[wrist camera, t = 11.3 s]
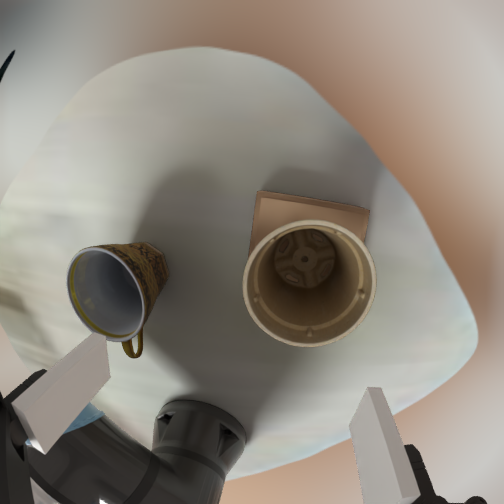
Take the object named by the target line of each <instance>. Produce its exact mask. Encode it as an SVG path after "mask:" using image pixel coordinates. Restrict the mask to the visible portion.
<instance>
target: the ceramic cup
mask: <svg viewBox="0 0 504 504" xmlns="http://www.w3.org/2000/svg"><path fill="white" fill-rule="evenodd" d="M168 277H169V271H168V268H167V264H166V261H165V257H164V254H163V253H162V252H160V251H159V250H157V249H156V248H154V247H153V246H152V245H150V244H149V243H147V242H141V243H132V244H109V245H99V246H93V247H88V248H84V249H82V250H81V251H79V252H78V253H77V254H76V255H75V256H74V257H73V258H72V260H71V262H70V264H69V266H68V270H67V276H66V286H67V293H68V297H69V300H70V303H71V305H72V308H73V310H74V311H75V313H76V315H77V316H78V318H79V319H80V321H81V322H82V323H83V324H84V325H85V326H86V327H87V328H88V329H89V330H90V331H91V332H93V333H94V332H95V333H98V334H101V335H103V336H106V340H108V341H113V342H122V346H123V349H124V351H125V353H126V354H127V355H128V356H129V357H130V358H138V357H140V356H141V354H142V351H143V326H144V324H145V322H146V321H147V319H148V317H149V315H150V313H151V311H152V309H153V306H154V304H155V301H156V299H157V297H158V295H159V294H160V292H161V291H162V289H163V287H164V285H165V283H166V281H167V279H168ZM137 334H138V350H137V353H136V354H135V353H134V350H133V346H132V338H133V337H135V336H136V335H137Z"/></svg>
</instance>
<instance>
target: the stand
mask: <svg viewBox="0 0 504 504" xmlns="http://www.w3.org/2000/svg"><path fill="white" fill-rule="evenodd" d="M369 213H370V210H367V209H365V208H362V207H358V206H353V205H348V204H342V203H337V202H331V201H326V200H320V199H314V198H308V197H302V196H296V195H289V194H283V193H276V192H269V191H262V190H260V191H257V195H256V203H255V211H254V218H253V226H252V233H251V241H250V248H249V256H248V259H249V257H250V255H251V253H252V252H253V250H254V249H255V248H256V246H257V245H258V244H259V243H260V242H261V241H262V240H263V239H264V238H265V237H266V236H267V235H268V234H270V233H271V232H273V231H274V230H276V229H277V228H279V227H281V226H283V225H286V224H288V223H291V222H295V221H299V220H308V219H316V220H325V221H329V222H333V223H335V224H338V225H340V226H342V227H344V228H346V229H348V230H349V231H351V232H352V233H354V234H355V235H356V236H357V237H358V238H359V239H360V240H361V241H362V242H363V243H364V239H365V234H366V229H367V224H368V218H369ZM313 237H315V238H316V240H320V241H321V242H322V241H323V240H322V238H321V237H319V236H317V235H315V234H313ZM288 243H289V242H288V241H287V240H286V241H285V242H284V243H283V244H282V245H281V246H280V251H281V252H284V250H285V248H286V247H287V245H288ZM303 261H307V258H306V257H304V258H303ZM330 267H331V266H330V265H328V266H327V268H326V270H325V271H324V273H323V274H322V276H325V275H327V274H328V272H329V271H330ZM286 278H287V279H289V280H291V281H293V282H298V280H297V279H295V278H293V277H292V276H291V275H286ZM243 299H244V297H243Z"/></svg>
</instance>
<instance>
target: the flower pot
mask: <svg viewBox="0 0 504 504" xmlns="http://www.w3.org/2000/svg"><path fill="white" fill-rule="evenodd" d="M313 234H315V235H317V236H319V237H321V238H322V240H323V241H322V242H321V241H320V240H316V238H315V237H313ZM286 240H287V241H288V242H289V243H288V245H287V247H286V248H285V250H284V252H281V251H280V246H281V245H282V244H283V243H284V242H285V241H286ZM304 257H306V258H307V261H303V258H304ZM328 265H330V266H331V267H330V271H329V272H328V274H327V275H325V276H322V274H323V273H324V271H325V270H326V268H327V266H328ZM286 275H291V276H292V277H293V278H295V279H297V280H298V282H293V281H291V280H289V279H287V278H286ZM376 283H377V278H376V270H375V265H374V261H373V259H372V256H371V254H370V252H369V251H368V249H367V247H366V246H365V245H364V243H363V242H362V241H361V240H360V239H359V238H358V237H357V236H356V235H355V234H354V233H352V232H351V231H349V230H348V229H346V228H344V227H342V226H340V225H338V224H335V223H333V222H329V221H325V220H316V219H308V220H299V221H295V222H291V223H288V224H286V225H283V226H281V227H279V228H277V229H276V230H274V231H273V232H271V233H270V234H268V235H267V236H266V237H265V238H264V239H263V240H262V241H261V242H260V243H259V244H258V245H257V246H256V248H255V249H254V250H253V252H252V253H251V255H250V257H249V259H248V261H247V264H246V266H245V270H244V274H243V297H244V301H245V305H246V307H247V310H248V312H249V314H250V315H251V317H252V318H253V320H254V321H255V323H256V324H257V325H258V326H259V327H260V328H261V329H262V330H263V331H264V332H265V333H267V334H268V335H270V336H271V337H273V338H275V339H276V340H279V341H281V342H283V343H286V344H289V345H293V346H300V347H316V346H323V345H327V344H330V343H333V342H335V341H337V340H340V339H342V338H343V337H345V336H347V335H348V334H349V333H351V332H352V331H353V330H354V329H355V328H356V327H357V326H358V325H359V324H360V323H361V322H362V321H363V319H364V318H365V316H366V315H367V313H368V311H369V309H370V307H371V305H372V303H373V300H374V296H375V292H376Z"/></svg>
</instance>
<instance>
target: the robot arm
mask: <svg viewBox="0 0 504 504" xmlns="http://www.w3.org/2000/svg"><path fill="white" fill-rule="evenodd" d="M110 377H111V376H110V369H109V361H108V353H107V344H106V336H103V335H101V334H98V333H95V332H94V333H92V334H91V335H90V336H89V337H88V338H86V339H85V340H84V341H83V342H81V343H80V344H79V345H78V346H77V347H75V348H74V349H73V350H72V351H71V352H70V353H68V354H67V355H66V356H65V357H64V358H62V359H61V360H60V361H59V362H58V363H57V364H55V365H54V366H53V367H52V368H51V369H50V370H48V371H47V370H45V369H42V370H40V371H37V372H34V373H33V374H32V375H31V376H30V377H29V378H28V379H26V380H25V381H24V382H23V383H22V384H20V385H19V386H18V387H17V388H16V389H14V390H13V391H12V392H11V393H10V394H9V395H8V396H6V397H5V398H4V399H3V397H2V394H1V392H0V504H219V501H220V497H221V494H222V490H223V485H224V482H225V478H226V475H227V474H228V472H229V471H230V470H231V468H232V467H233V466H234V464H235V463H236V462H237V460H238V459H239V458H240V456H241V455H242V453H243V451H244V447H245V442H246V434H245V431H244V429H243V427H242V426H241V424H240V423H239V422H238V421H237V420H236V419H235V418H234V417H232V416H231V415H230V414H228V413H226V412H225V411H223V410H221V409H219V408H217V407H215V406H212V405H209V404H206V403H202V402H198V401H190V400H180V401H174V402H171V403H168V404H166V405H165V406H164V407H163V408H162V409H161V410H160V412H159V414H158V415H157V417H156V419H155V423H154V433H153V446H152V451H150V450H148V449H147V448H146V447H144V446H143V445H142V444H140V443H139V442H138V441H136V440H135V439H134V438H132V437H131V436H130V435H128V434H127V433H126V432H125V431H123V430H122V429H121V428H120V427H118V426H117V425H116V424H115V423H114V422H113V421H111V420H110V419H109V418H108V417H107V416H106V415H105V413H104V412H103V411H100V410H98V409H97V408H96V407H95V406H94V405H92V404H91V403H90V401H91V400H92V398H93V397H94V396H95V395H96V394H97V393H98V391H99V390H100V389H101V388H102V387H103V386H104V384H105V383H106V382H107V381H108V380H109V379H110ZM349 428H350V432H351V437H352V442H353V447H354V452H355V457H356V462H357V467H358V473H359V478H360V484H361V489H362V495H363V501H364V504H487V502H486V501H485V500H484V499H483V498H482V497H478V496H473V497H471V498H469V499H468V500H467V501H466V502H465V503H448V502H447V501H446V500H445V499H444V498H443V497H441V496H437V495H436V494H435V492H434V489H433V486H432V483H431V481H430V478H429V475H428V473H427V470H426V469H425V465H424V463H423V460H422V457H421V455H420V452H419V451H418V450H417V449H416V448H415V447H414V445H412V444H410V445H403V442H402V440H401V437H400V434H399V432H398V429H397V426H396V424H395V421H394V419H393V416H392V413H391V411H390V408H389V406H388V403H387V401H386V398H385V396H384V394H383V391H382V389H381V388H376V387H367V389H366V391H365V393H364V395H363V398H362V400H361V402H360V404H359V406H358V408H357V410H356V412H355V414H354V416H353V418H352V420H351V422H350V424H349Z"/></svg>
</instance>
